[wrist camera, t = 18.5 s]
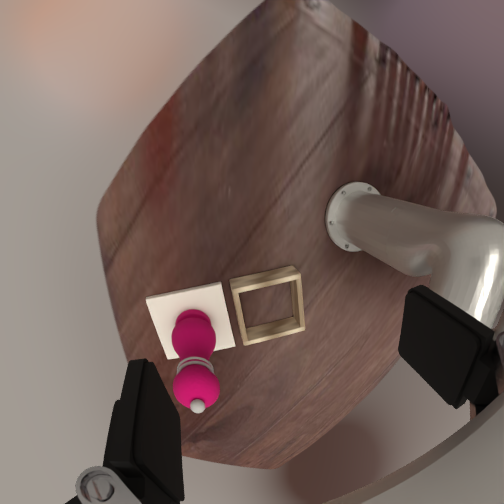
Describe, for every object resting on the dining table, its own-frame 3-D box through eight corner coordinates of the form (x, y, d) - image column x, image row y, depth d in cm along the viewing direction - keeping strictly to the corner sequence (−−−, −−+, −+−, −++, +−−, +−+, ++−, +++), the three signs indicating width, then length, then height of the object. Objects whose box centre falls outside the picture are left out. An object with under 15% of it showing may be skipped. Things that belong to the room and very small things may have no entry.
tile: (220, 281, 47) (221, 283, 46) (234, 343, 51) (235, 346, 50) (146, 296, 45) (145, 299, 44) (168, 356, 49) (167, 359, 48)
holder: (292, 265, 49) (300, 273, 45) (297, 318, 52) (305, 329, 48) (229, 279, 47) (232, 289, 43) (240, 333, 51) (244, 345, 47)
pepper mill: (195, 347, 49) (202, 434, 30) (164, 325, 46) (155, 412, 27) (222, 322, 48) (241, 407, 29) (191, 298, 46) (193, 381, 27)
